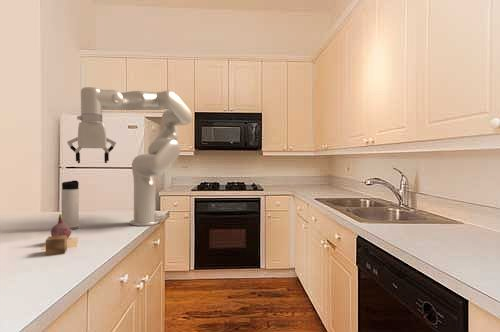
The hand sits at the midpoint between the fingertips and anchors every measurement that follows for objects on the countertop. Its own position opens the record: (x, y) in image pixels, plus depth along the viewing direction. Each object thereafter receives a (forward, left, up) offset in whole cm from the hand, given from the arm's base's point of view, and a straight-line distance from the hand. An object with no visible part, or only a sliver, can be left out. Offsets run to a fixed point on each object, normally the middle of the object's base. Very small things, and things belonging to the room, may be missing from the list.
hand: (92, 163), depth 133 cm
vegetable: (+10, +15, -28) cm, 33 cm away
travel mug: (+8, -12, -28) cm, 32 cm away
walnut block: (+11, +27, -28) cm, 40 cm away
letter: (+10, +15, -28) cm, 33 cm away
